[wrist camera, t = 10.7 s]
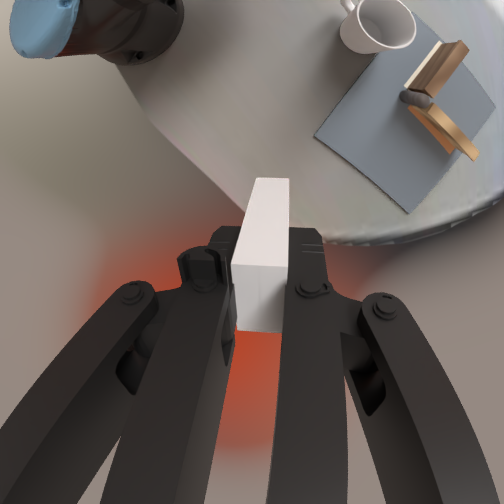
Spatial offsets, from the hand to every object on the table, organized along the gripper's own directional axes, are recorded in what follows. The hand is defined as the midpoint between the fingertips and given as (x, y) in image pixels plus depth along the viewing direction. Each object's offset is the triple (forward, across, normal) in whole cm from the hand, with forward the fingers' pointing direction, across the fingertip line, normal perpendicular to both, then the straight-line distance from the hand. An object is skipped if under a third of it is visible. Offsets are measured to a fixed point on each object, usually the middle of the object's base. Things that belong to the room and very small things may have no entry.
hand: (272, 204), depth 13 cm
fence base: (+29, +21, +10) cm, 37 cm away
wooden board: (+28, +24, +2) cm, 37 cm away
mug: (+30, +10, +16) cm, 35 cm away
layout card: (+29, +21, +3) cm, 36 cm away
